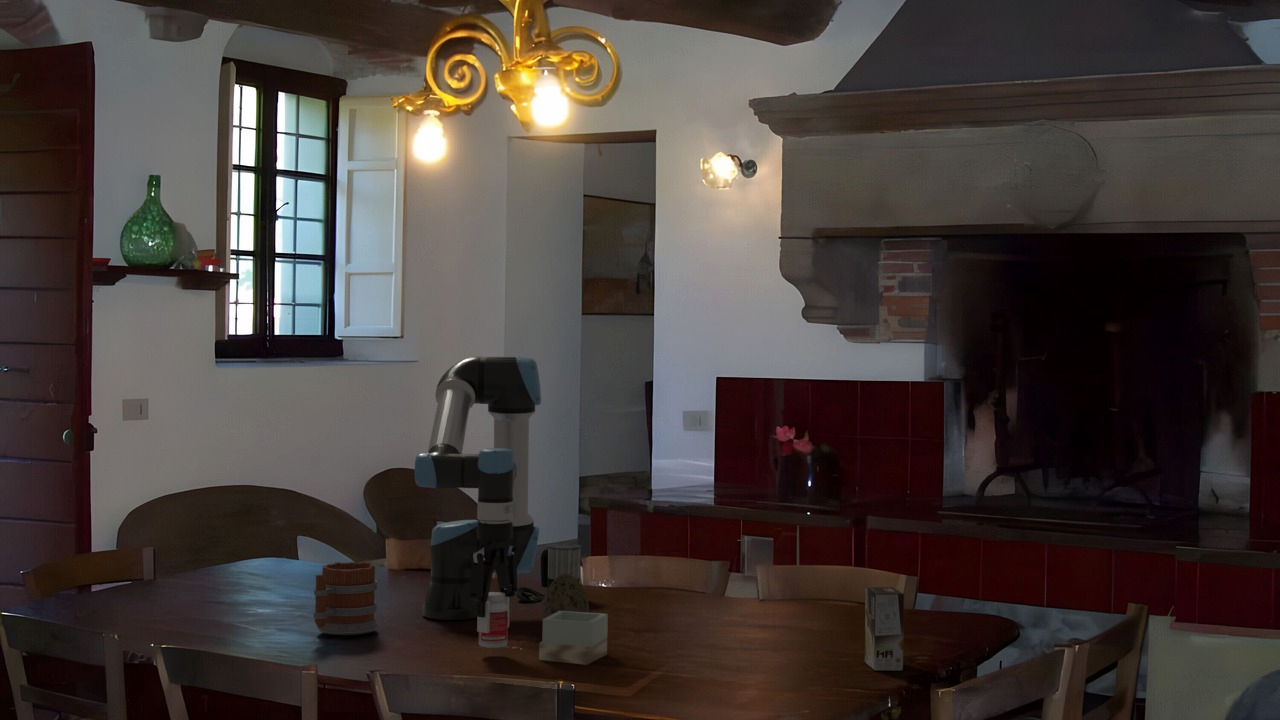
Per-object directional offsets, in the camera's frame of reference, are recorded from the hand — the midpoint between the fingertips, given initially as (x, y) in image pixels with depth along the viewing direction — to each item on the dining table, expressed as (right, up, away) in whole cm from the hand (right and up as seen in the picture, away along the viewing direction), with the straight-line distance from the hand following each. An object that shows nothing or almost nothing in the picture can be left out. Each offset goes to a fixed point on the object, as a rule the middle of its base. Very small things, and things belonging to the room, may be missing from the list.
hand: (493, 629), depth 285 cm
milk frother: (+7, -7, +68) cm, 69 cm away
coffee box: (+83, -7, -3) cm, 83 cm away
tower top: (+17, -3, +1) cm, 18 cm away
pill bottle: (0, -4, 0) cm, 4 cm away
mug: (-38, -6, +24) cm, 45 cm away
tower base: (+17, -7, +1) cm, 18 cm away
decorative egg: (+14, -6, +19) cm, 25 cm away
